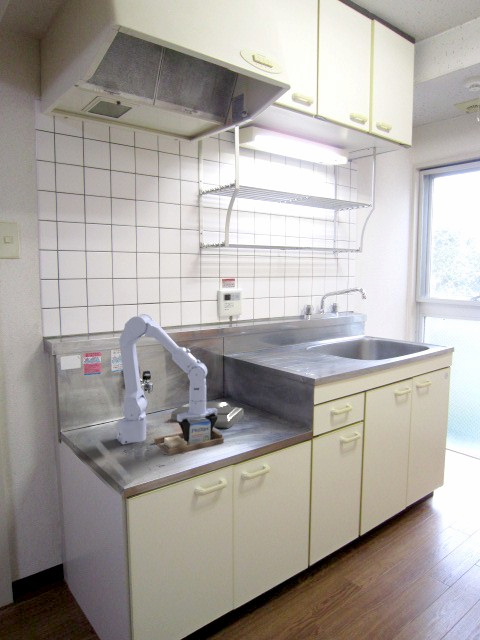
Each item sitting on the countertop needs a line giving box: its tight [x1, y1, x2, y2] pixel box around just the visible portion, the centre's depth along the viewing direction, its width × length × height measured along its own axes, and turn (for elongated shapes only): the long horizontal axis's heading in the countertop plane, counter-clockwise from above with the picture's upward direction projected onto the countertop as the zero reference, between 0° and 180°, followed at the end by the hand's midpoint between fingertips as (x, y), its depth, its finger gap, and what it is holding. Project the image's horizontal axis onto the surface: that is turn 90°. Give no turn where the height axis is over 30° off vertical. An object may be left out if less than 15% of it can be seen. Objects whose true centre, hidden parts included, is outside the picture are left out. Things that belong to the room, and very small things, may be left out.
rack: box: [153, 428, 225, 456], centre depth 146 cm, size 20×12×4 cm, turn 124°
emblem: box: [170, 401, 245, 429], centre depth 176 cm, size 28×5×28 cm
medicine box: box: [186, 418, 211, 445], centre depth 148 cm, size 8×4×9 cm, turn 122°
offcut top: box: [163, 436, 188, 449], centre depth 143 cm, size 5×7×2 cm
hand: (197, 438), depth 148 cm, fingers closed on medicine box, 7 cm apart
